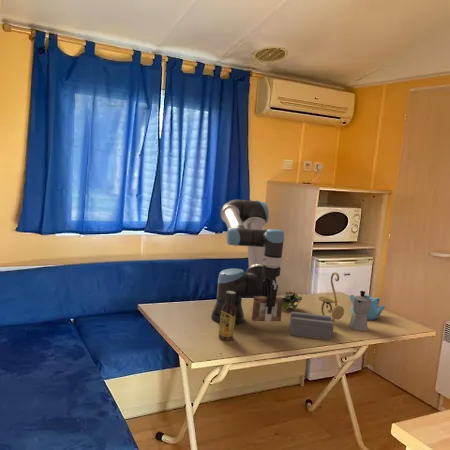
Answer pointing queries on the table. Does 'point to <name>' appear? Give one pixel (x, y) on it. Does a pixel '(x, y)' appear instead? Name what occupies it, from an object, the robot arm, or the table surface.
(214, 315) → the robot arm
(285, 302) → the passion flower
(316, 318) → the picture ledge
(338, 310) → the wall sconce
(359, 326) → the coffee maker
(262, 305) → the picture frame
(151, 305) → the table surface
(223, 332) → the sauce bottle
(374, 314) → the teapot
